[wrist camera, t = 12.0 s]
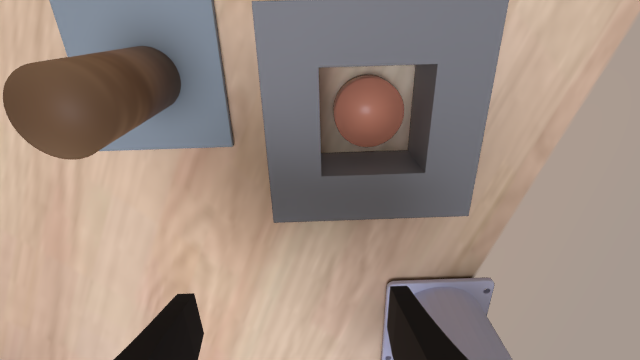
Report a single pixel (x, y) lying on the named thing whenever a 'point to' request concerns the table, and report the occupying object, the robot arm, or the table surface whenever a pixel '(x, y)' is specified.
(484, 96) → the frame
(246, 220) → the table surface
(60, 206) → the table surface
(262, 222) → the table surface
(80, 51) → the mat
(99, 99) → the dowel
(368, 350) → the table surface
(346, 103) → the orange domed disc
